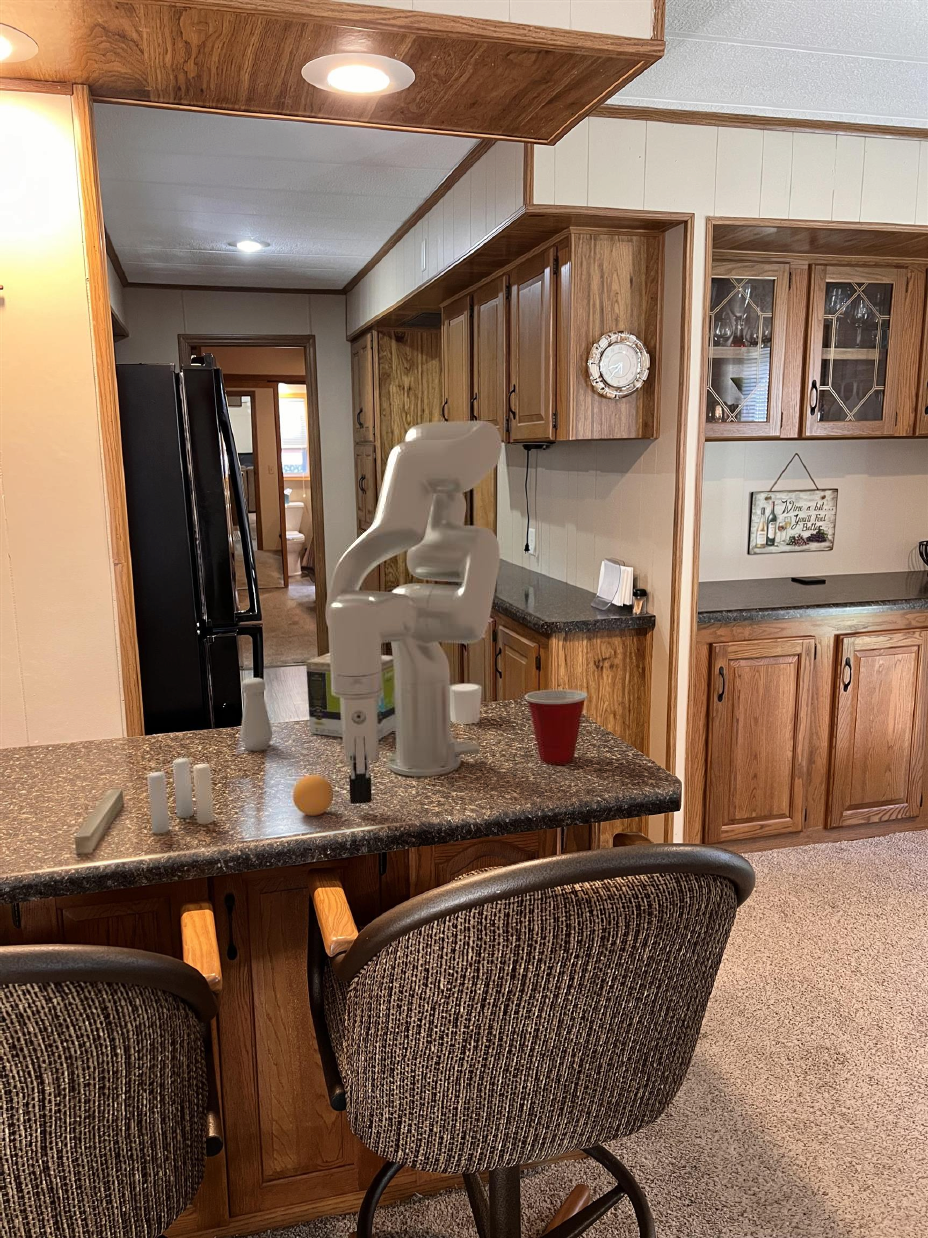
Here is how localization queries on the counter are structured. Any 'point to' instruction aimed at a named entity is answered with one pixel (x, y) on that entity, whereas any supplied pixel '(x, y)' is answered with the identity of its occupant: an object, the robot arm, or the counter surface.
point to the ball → (313, 795)
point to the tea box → (328, 706)
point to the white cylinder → (465, 703)
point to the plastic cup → (556, 722)
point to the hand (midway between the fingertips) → (360, 801)
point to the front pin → (203, 793)
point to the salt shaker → (255, 716)
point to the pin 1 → (158, 802)
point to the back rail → (99, 821)
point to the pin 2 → (183, 788)
